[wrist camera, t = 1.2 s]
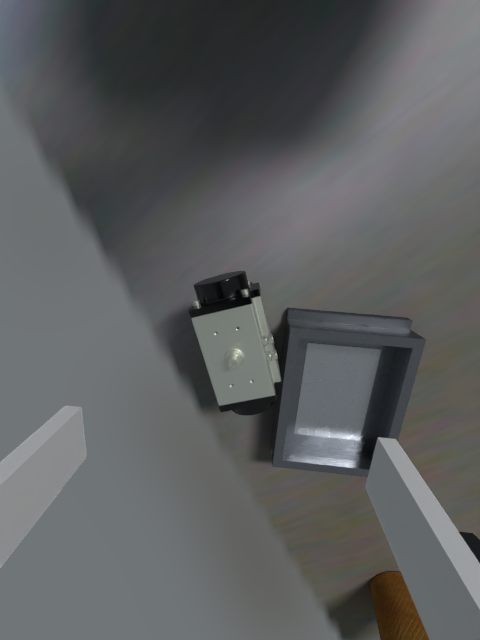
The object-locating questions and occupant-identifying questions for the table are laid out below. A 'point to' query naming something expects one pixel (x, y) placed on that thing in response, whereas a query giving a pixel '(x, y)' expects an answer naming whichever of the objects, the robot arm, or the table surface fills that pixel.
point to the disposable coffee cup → (395, 609)
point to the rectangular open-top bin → (341, 388)
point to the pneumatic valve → (236, 343)
